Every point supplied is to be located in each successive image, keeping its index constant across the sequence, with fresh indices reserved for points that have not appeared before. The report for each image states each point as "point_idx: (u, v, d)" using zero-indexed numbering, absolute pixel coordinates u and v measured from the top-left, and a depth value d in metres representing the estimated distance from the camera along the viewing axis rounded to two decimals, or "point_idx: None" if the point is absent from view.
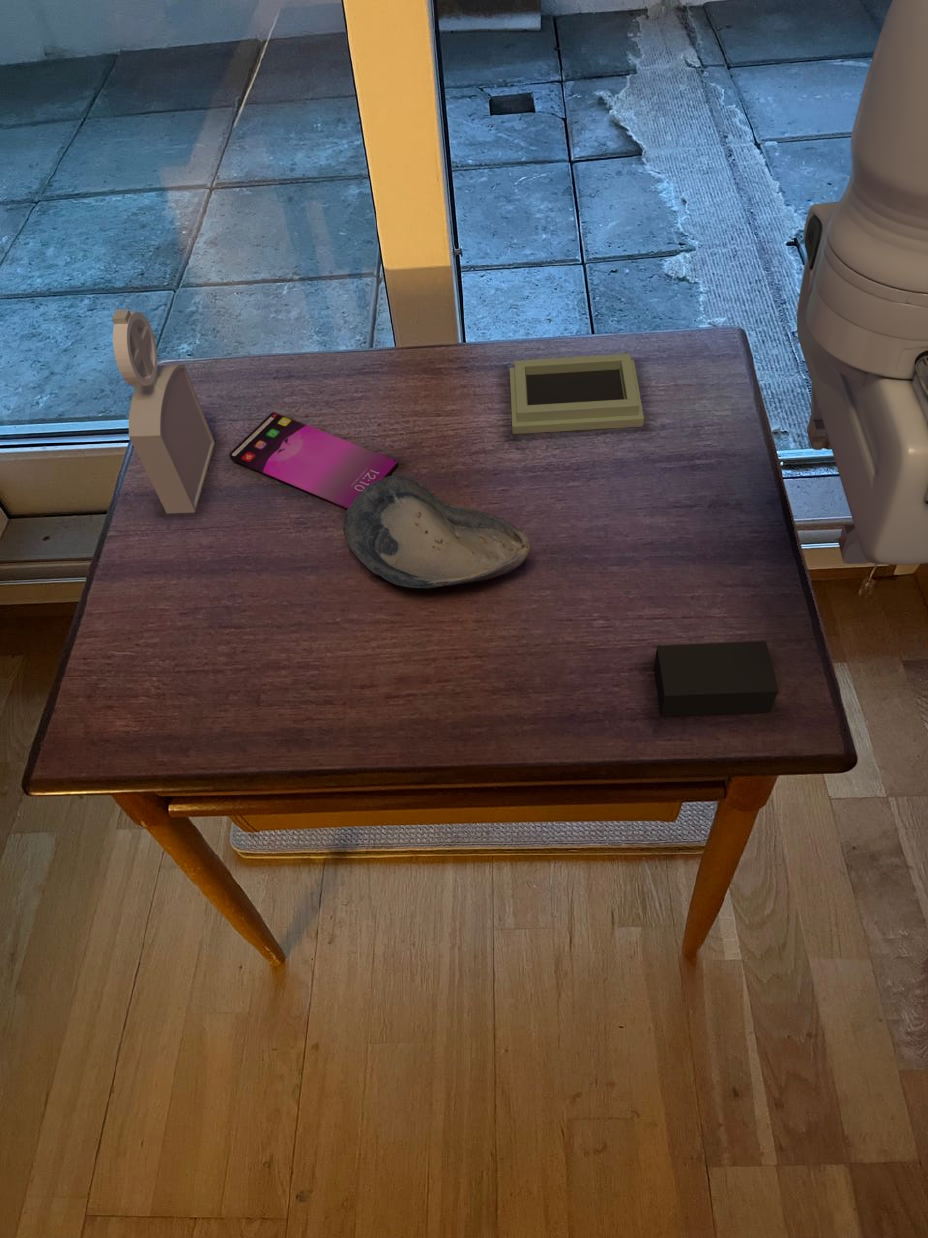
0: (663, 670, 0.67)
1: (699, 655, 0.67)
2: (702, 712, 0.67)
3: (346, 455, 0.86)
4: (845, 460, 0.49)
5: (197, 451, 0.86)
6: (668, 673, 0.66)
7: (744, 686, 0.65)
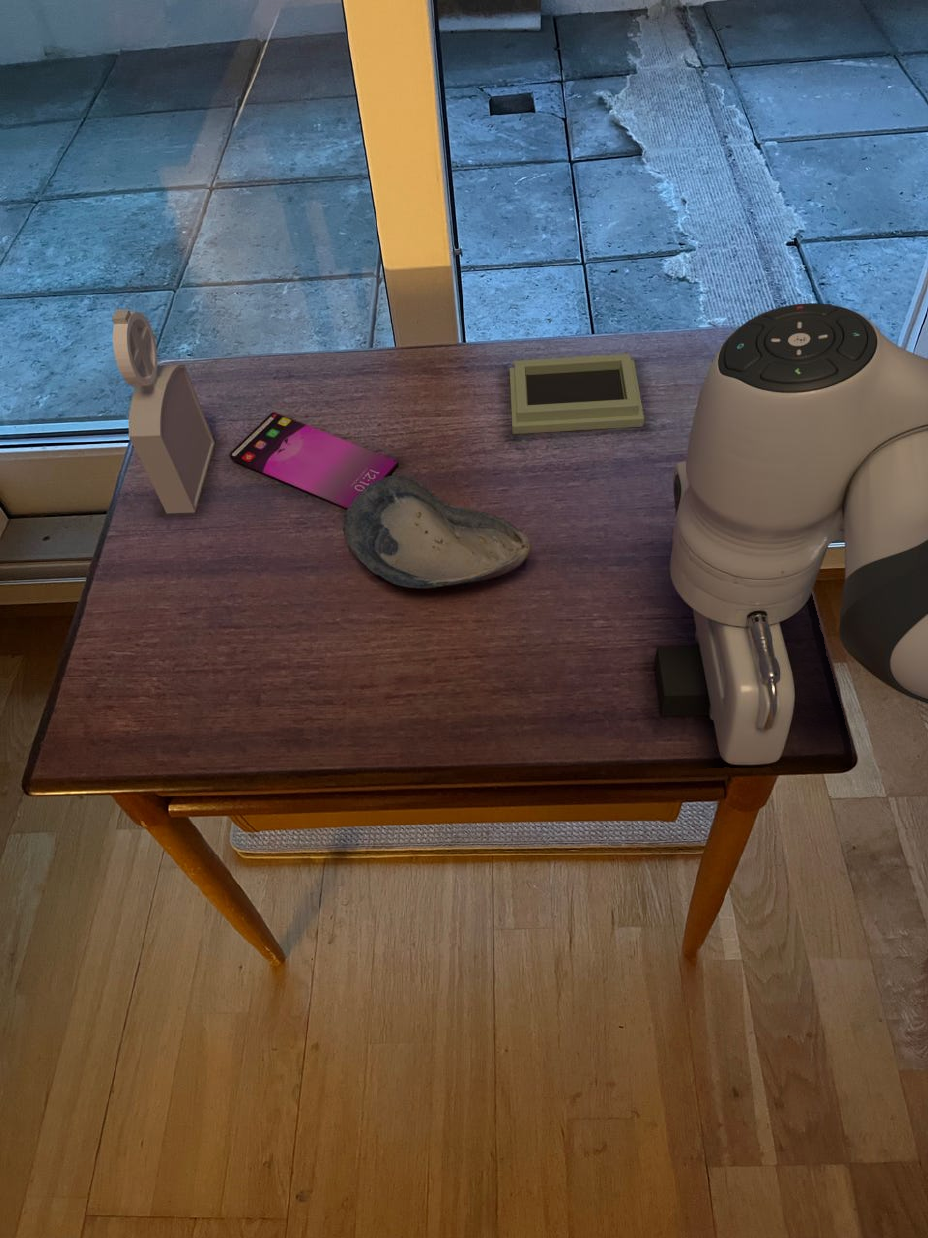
0: (663, 670, 0.67)
1: (699, 655, 0.67)
2: (702, 712, 0.67)
3: (346, 455, 0.86)
4: (708, 671, 0.60)
5: (197, 451, 0.86)
6: (668, 673, 0.66)
7: None
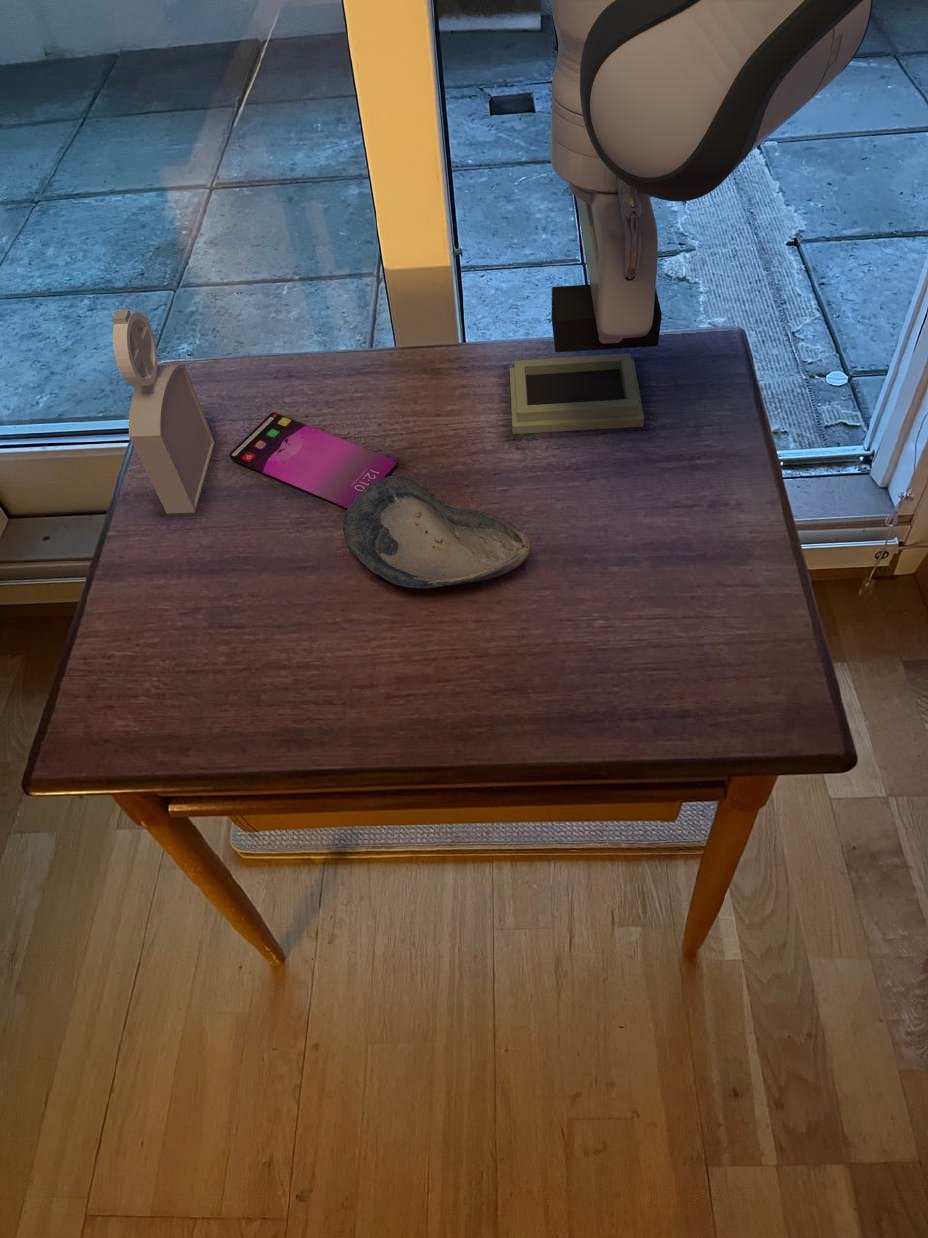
0: (556, 303, 0.71)
1: (590, 291, 0.71)
2: (593, 345, 0.71)
3: (346, 455, 0.86)
4: (590, 269, 0.65)
5: (197, 451, 0.86)
6: (560, 305, 0.70)
7: None
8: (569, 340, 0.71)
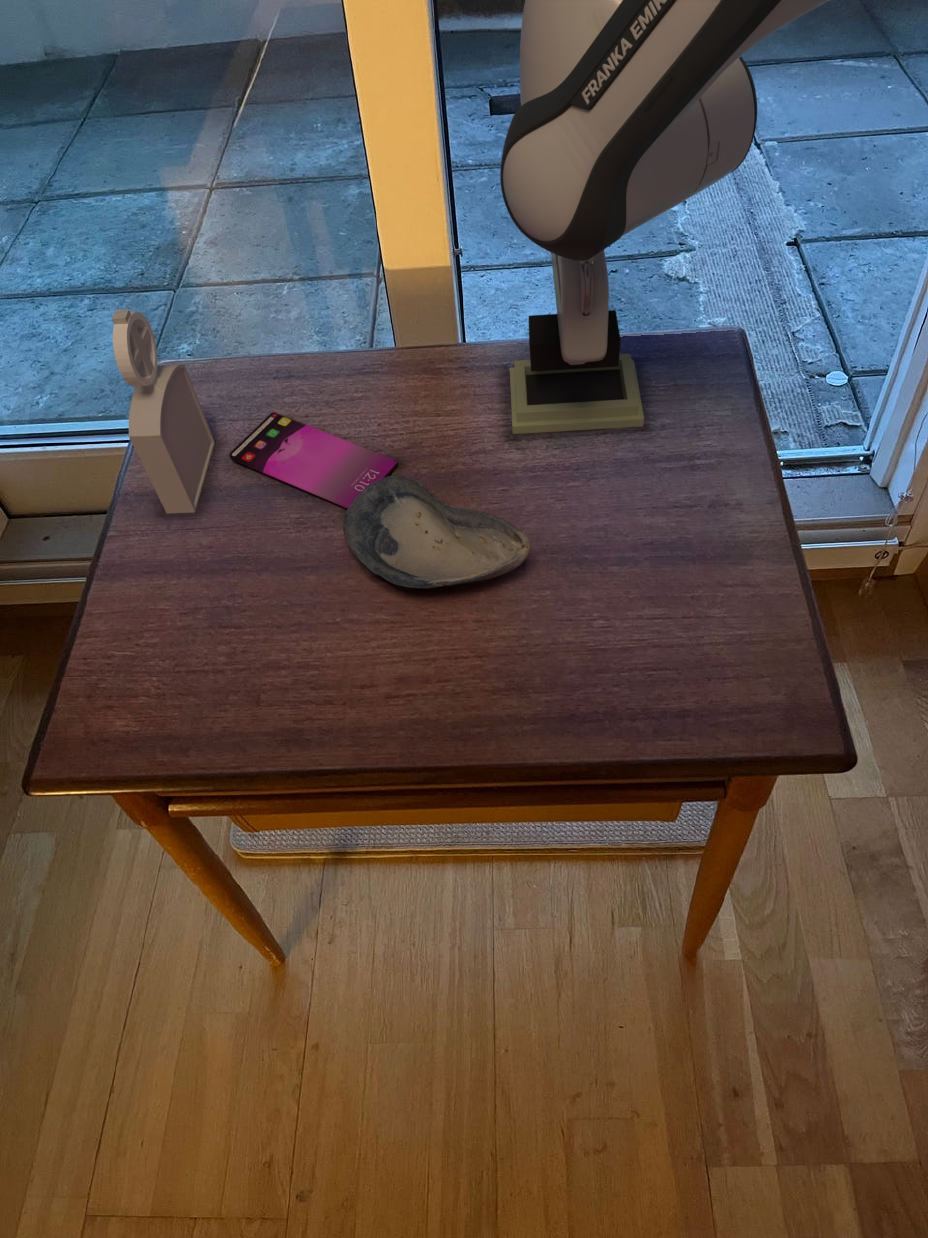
0: (531, 329, 0.83)
1: None
2: (563, 366, 0.84)
3: (346, 455, 0.86)
4: (557, 303, 0.77)
5: (197, 451, 0.86)
6: (535, 331, 0.83)
7: None
8: (542, 361, 0.83)
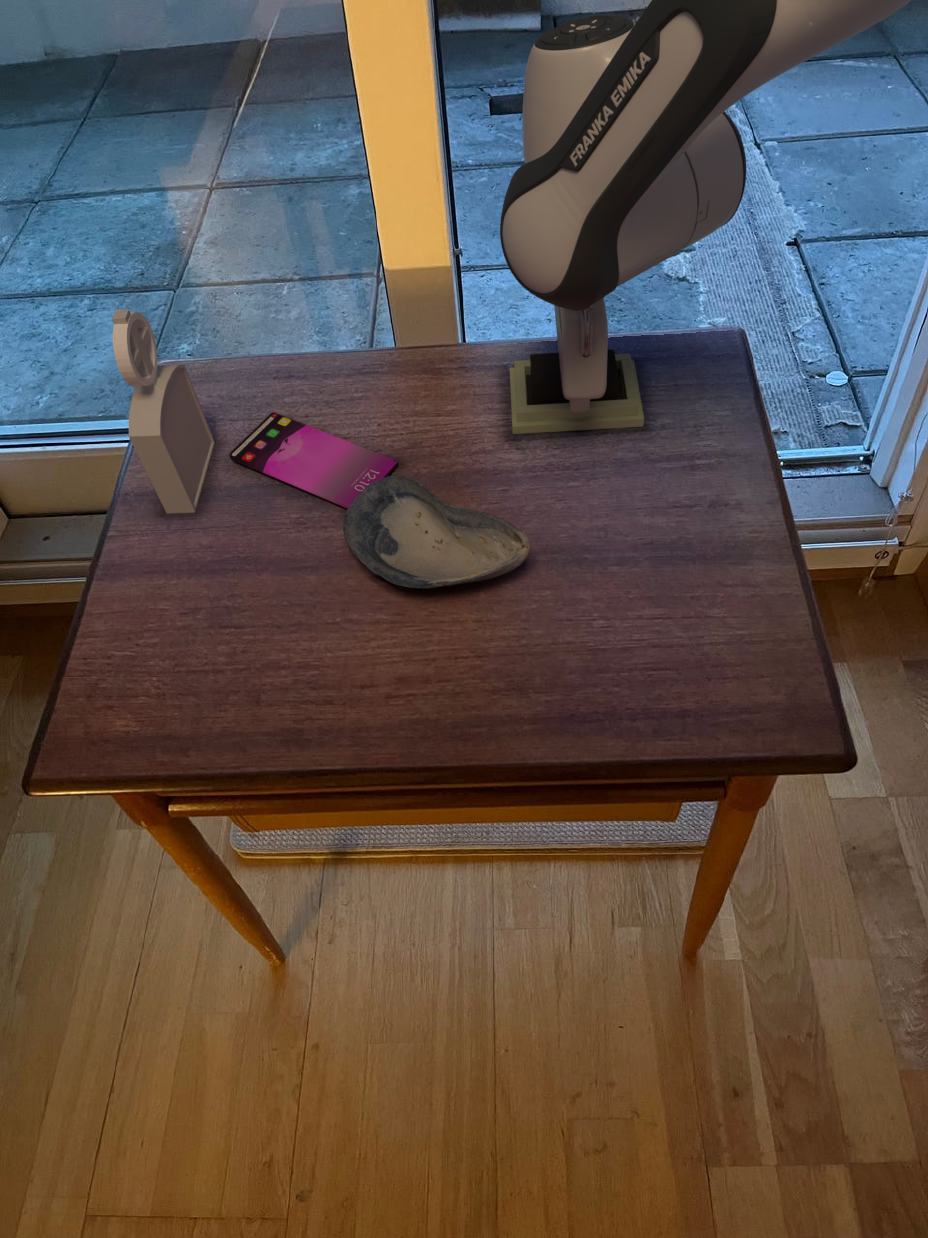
0: (533, 368, 0.86)
1: None
2: (564, 402, 0.87)
3: (346, 455, 0.86)
4: (558, 342, 0.80)
5: (197, 451, 0.86)
6: (536, 370, 0.86)
7: None
8: (544, 398, 0.87)
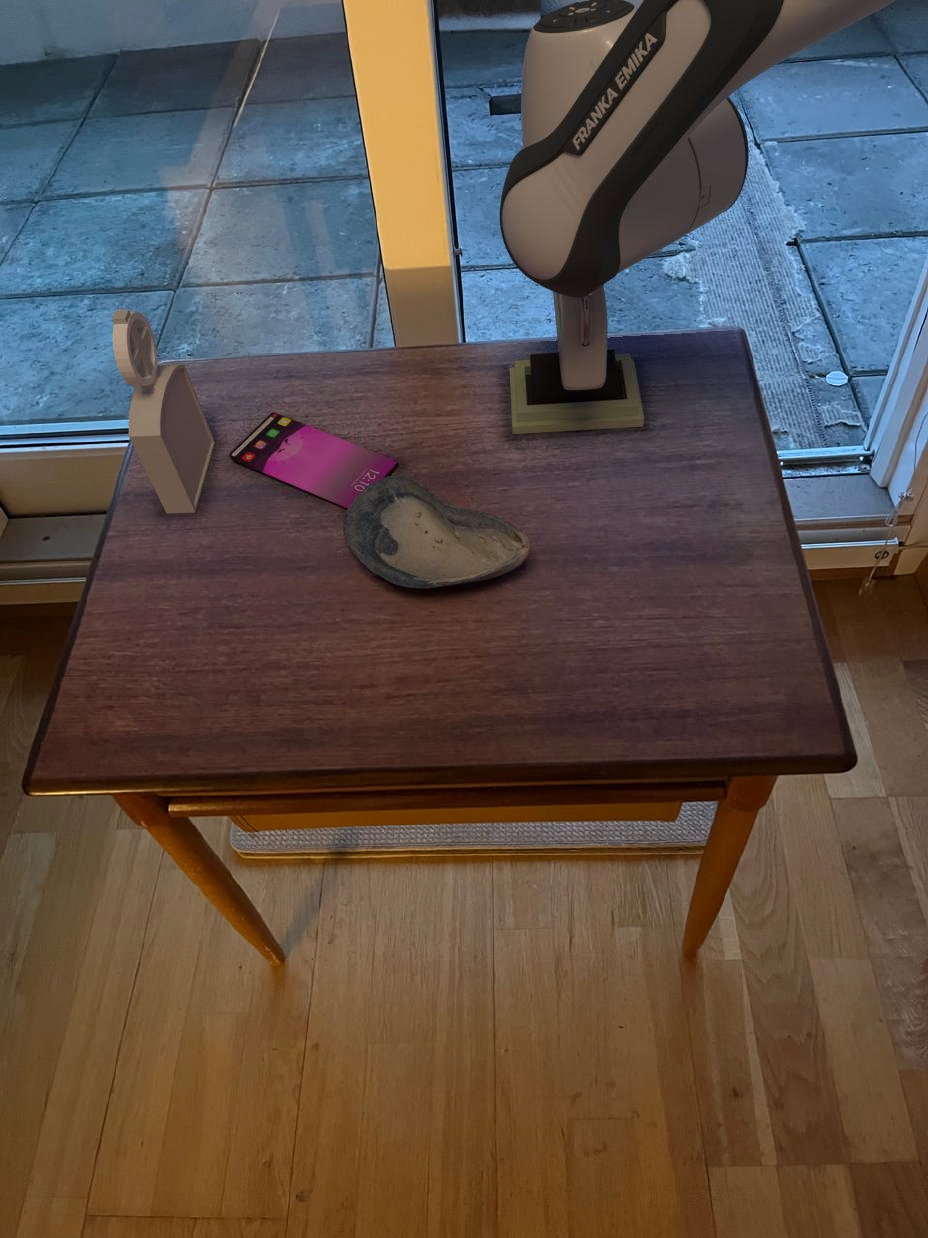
0: (533, 368, 0.86)
1: None
2: (564, 402, 0.87)
3: (346, 455, 0.86)
4: None
5: (196, 451, 0.86)
6: (536, 370, 0.86)
7: None
8: (544, 398, 0.87)
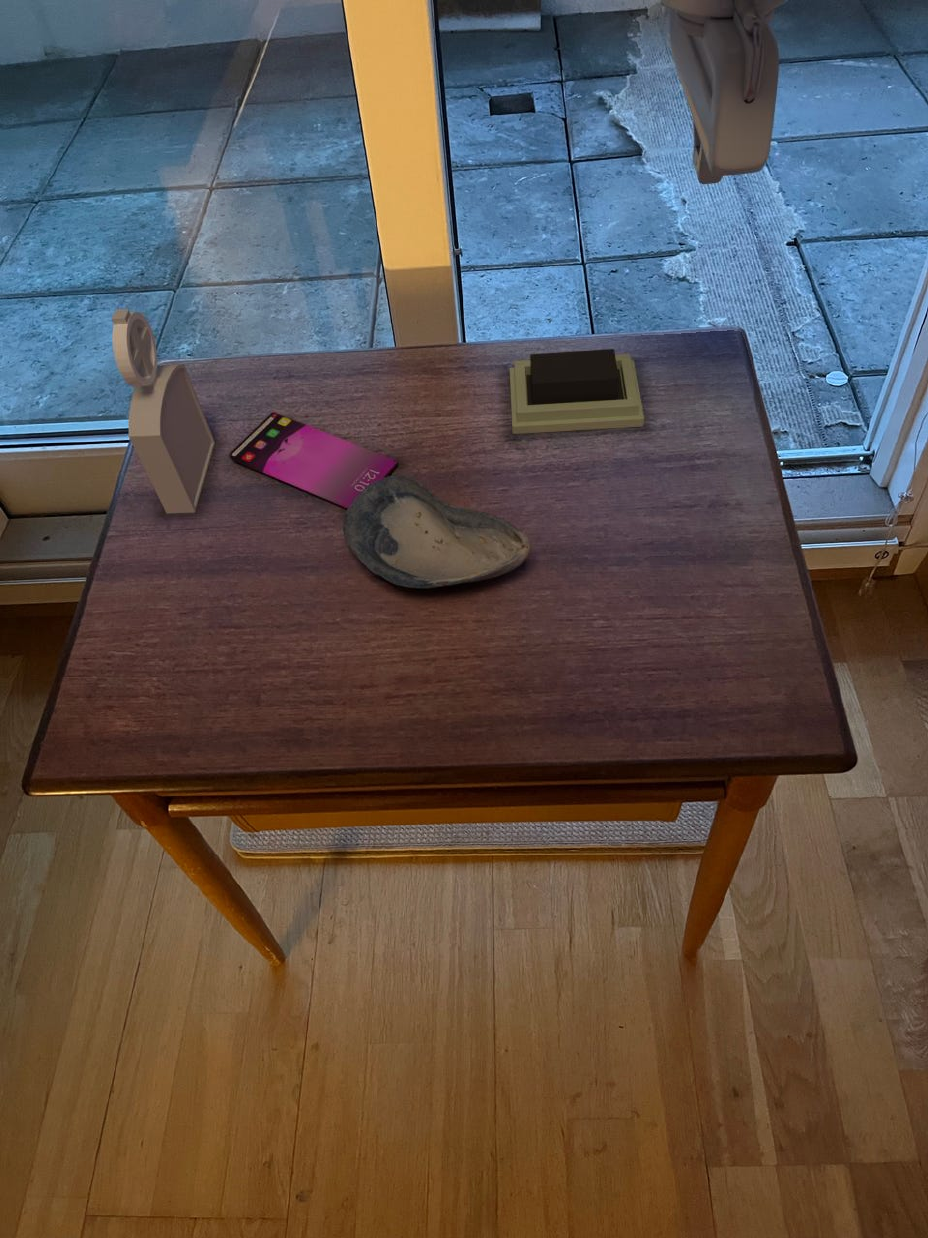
0: (533, 368, 0.86)
1: (561, 358, 0.87)
2: (564, 402, 0.87)
3: (346, 455, 0.86)
4: (698, 111, 0.63)
5: (196, 451, 0.86)
6: (536, 370, 0.86)
7: (593, 375, 0.85)
8: (544, 398, 0.87)
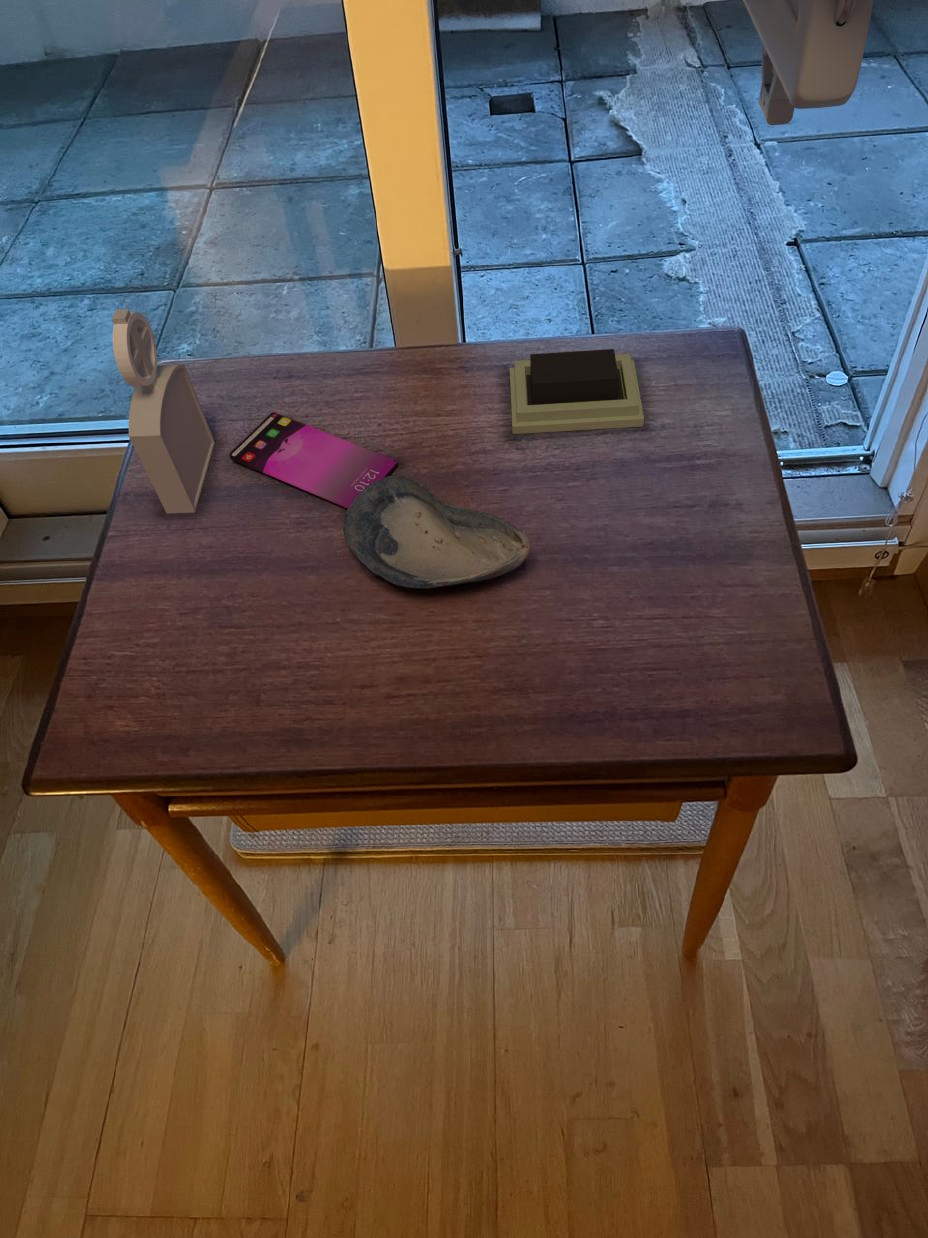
0: (533, 368, 0.86)
1: (561, 358, 0.87)
2: (564, 402, 0.87)
3: (346, 455, 0.86)
4: (775, 41, 0.58)
5: (196, 451, 0.86)
6: (536, 370, 0.86)
7: (593, 375, 0.85)
8: (544, 398, 0.87)
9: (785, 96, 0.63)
